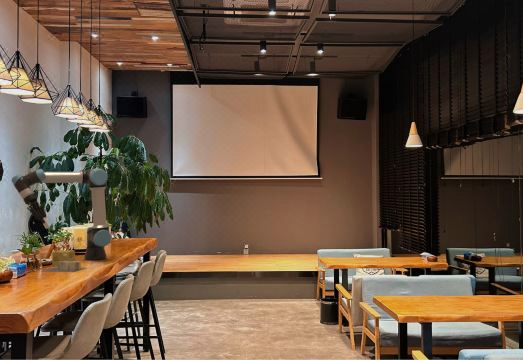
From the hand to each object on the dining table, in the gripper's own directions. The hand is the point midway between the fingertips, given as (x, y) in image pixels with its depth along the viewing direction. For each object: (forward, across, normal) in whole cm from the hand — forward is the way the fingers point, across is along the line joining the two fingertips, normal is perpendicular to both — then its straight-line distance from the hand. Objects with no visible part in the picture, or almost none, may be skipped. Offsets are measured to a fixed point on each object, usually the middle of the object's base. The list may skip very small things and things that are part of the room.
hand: (48, 227), depth 316 cm
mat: (+30, +7, -2) cm, 31 cm away
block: (+26, +7, -2) cm, 27 cm away
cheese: (+25, -10, -12) cm, 29 cm away
